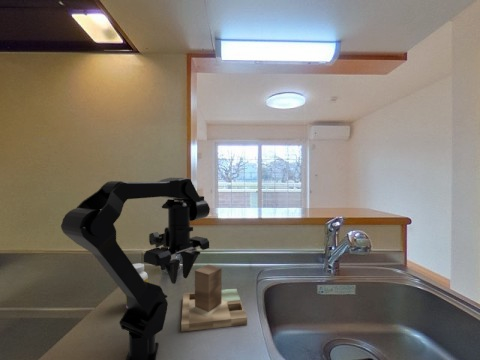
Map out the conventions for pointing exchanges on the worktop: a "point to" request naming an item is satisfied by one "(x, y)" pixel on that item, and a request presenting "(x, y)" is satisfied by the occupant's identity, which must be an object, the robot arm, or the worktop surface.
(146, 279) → the supplement bottle
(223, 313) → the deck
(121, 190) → the robot arm
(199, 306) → the walnut box
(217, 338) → the worktop surface
